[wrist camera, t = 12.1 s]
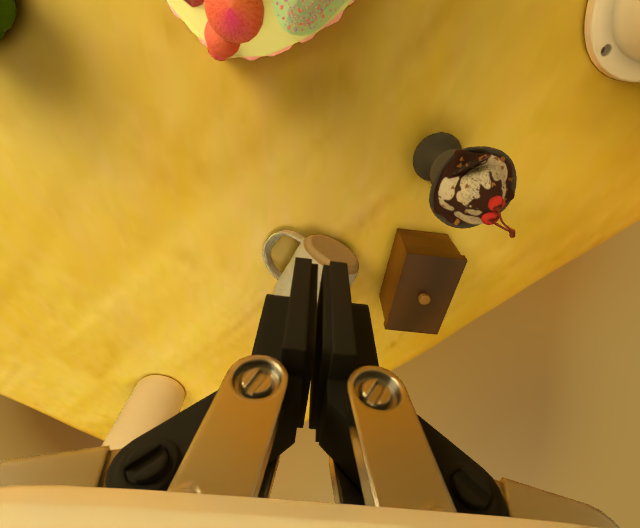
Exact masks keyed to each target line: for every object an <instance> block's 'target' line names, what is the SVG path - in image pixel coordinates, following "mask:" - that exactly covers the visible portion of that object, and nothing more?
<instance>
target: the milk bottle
mask: <svg viewBox="0 0 640 528" xmlns="http://www.w3.org/2000/svg"><path fill="white" fill-rule="evenodd" d="M184 398H185V392H184V389H183V387H182V386H181V385H180V384H179V383H178V382H177V381H175V380H174V379H172V378H170V377H166V376H162V375H150V376H146V377H144V378H143V379H141V380H140V381H139V382H138V383H137V385H136V386H135V388H134V390H133V391H132V393H131V395H130V397H129V398H128V400H127V402H126V404H125V405H124V407H123V409H122V411H121V412H120V414H119V416H118V418H117V419H116V421H115V423H114V425H113V426H112V428H111V430H110V432H109V433H108V435H107V437H106V439H105V441H104V443H103V445H102V446H109V447H110V450H114V449H122V448H123V447H124V446H126V445H127V444H128V443H130V442H131V441H132V440H134V439H136V438H137V437H139V436H141V435H142V434H144V433H146V432H148V431H149V430H151V429H153V428H154V427H156V426H158V425H159V424H161V423H163V422H165V421H166V420H168V419H170V418H171V417H173V416H175V415H177V414H178V413H179V411H180V409H181V406H182V404H183V401H184ZM102 446H101V447H102Z"/></svg>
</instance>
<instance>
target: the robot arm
mask: <svg viewBox="0 0 640 528" xmlns="http://www.w3.org/2000/svg"><path fill="white" fill-rule="evenodd" d="M584 36H585V43H586V49H587V51H588V54H589V56H590V58H591V61H592V62H593V63H594V65H595V66H596V67H597V68H598V70H599V71H601V72H602V73H604V74H605V75H606V76H608V77H610V78H613V79H616V80H619V81H627V82H640V0H589V1H588V5H587V10H586V15H585V27H584ZM601 49H602V50H601ZM317 287H318V264H313V263H312V259H308V258H300V257H295V264H294V271H293V278H292V284H291V291H290V297H289V296H280V295H271V294H267V295H266V298H265V302H264V306H263V310H262V315H261V319H260V323H259V327H258V331H257V335H256V339H255V343H254V347H253V351H252V355H251V356H247V357H244V358H242V359H240V360H238V361H237V362H236V363H234V364H233V365H232V366H231V368H230V369H229V370H228V372H227V374H226V376H225V378H224V380H223V382H222V383H221V385H220V387H219V389H218V391H216V392H214V393H212V394H211V395H209V396H207V397H206V398H204V399H202V400H200V401H199V402H197V403H195V404H194V405H192V406H190V407H189V408H187V409H185V410H183V411H182V412H180V413H178V414H177V415H175V416H173V417H171V418H170V419H168V420H166V421H165V422H163V423H161V424H159V425H158V426H156V427H154V428H153V429H151V430H149V431H148V432H146V433H144V434H142V435H141V436H139V437H137V438H136V439H134V440H132V441H131V442H130V443H128V444H127V445H126V446H124V447H123V448H122V449H114V450H110V447H109V446H102V447H95V448H88V449H81V450H74V451H66V452H59V453H51V454H44V455H37V456H30V457H22V458H15V459H8V460H5V461H1V462H0V528H619V526H618V525H617V524H616V523H615V522H614V521H613V520H612V519H611V518H609V517H608V516H607V515H605V514H604V513H603V512H602V511H600V510H599V509H596V508H594V507H592V506H590V505H588V504H585V503H582V502H579V501H576V500H573V499H569V498H566V497H563V496H560V495H557V494H554V493H550V492H547V491H544V490H541V489H538V488H535V487H531V486H528V485H525V484H522V483H519V482H516V481H513V480H509V479H506V478H502V479H501V480H500V481H497V480H494V479H493V478H492V477H491V476H490V475H489V474H488V473H487V472H486V471H485V470H484V469H483V468H482V467H481V466H480V465H478V464H477V463H476V462H475V461H473V460H472V459H471V458H470V457H469V456H467V455H466V454H465V453H464V452H463V451H461V450H460V449H459V448H458V447H456V446H455V445H454V444H453V443H451V442H450V441H449V440H448V439H447V438H445V437H444V436H443V435H442V434H440V433H439V432H438V431H437V430H436V429H434V428H433V427H432V426H430V425H429V424H428V423H427V422H426V421H425V420H423V419H422V418H421V417H420V416H418V415H417V414H416V412H415V409H414V407H413V404H412V402H411V400H410V397H409V395H408V392H407V390H406V388H405V386H404V384H403V382H402V381H401V380H400V379H399V378H398V377H397V376H396V375H395V374H394V373H392V372H391V371H389V370H387V369H385V368H382V367H379V364H378V359H377V353H376V347H375V341H374V335H373V330H372V324H371V318H370V312H369V307H368V305H365V304H355V303H352V302H351V293H350V284H349V274H348V265H347V263H344V262H335V261H330V264H329V265H323V269H322V276H321V282H320V289H319V296H318V302H317ZM310 381H311V388H310ZM309 388H310V411H309V428H310V429H316V442H319V445H320V446H321V447H322V448H323V450H324V451H325V452H326V453H327V454H328V455H329V468H330V475H331V480H332V487H333V494H334V501H335V503H323V502H310V501H297V500H283V499H282V500H281V499H270V498H269V497H270V493H271V489H272V486H273V482H274V478H275V474H276V471H277V467H278V463H279V457H280V454H281V453H283V452H284V451H285V450H286V449H287V448H289V447H290V446H291V445H292V444H294V442H295V436H296V430H297V428H303V425H304V419H305V412H306V406H307V400H308V394H309Z"/></svg>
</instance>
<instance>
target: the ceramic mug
mask: <svg viewBox="0 0 640 528" xmlns="http://www.w3.org/2000/svg"><path fill="white" fill-rule="evenodd" d="M281 235H285V236H289V237H291V238H294V239H295V240H297V241H299V243H300V245H299V246H298V248H297V250H296V251H295V253H294V255H293V257H292V259H291V260H290V262H289V263H288V265H287V267H286V268H285V270H284V271H283V273H282V272H281V271H280V270H279V269H278V268H277V267H276V266H275V264H274V263H273V261H272V258H271V253H270V252H271V248H272V247H273V245H274V244H275V242H276V241H277V240H279V239H280V236H281ZM262 255H263V260H264V263H265V265H266V267H267V269H268V270H269V271H270V273H271V274H272V275H273V276H274V277H275V278H276V279H277V280H278V281H277V283H276V285H275V287H274V295H280V296H289V297H290V291H291V284H292V278H293V271H294V264H295V257H300V258H308V259H312V263H313V264H318V287H317V302H318V296H319V289H320V282H321V276H322V269H323V265H329V264H330V261H335V262H344V263H347V265H348V274H349V284H350V286H351V284H352V283H353V281H354V279H355V278H356V275H357V273H358V269H359V263H358V260H357V258H356V256H355V255H354V253H353V252H352V251H351V250H350V249H349V248H348V247H346V246H345V245H344V244H342V243H340V242H339V241H337V240H335V239H333V238H331V237H328V236H325V235H320V234H314V235H310V236H308V237H306V238H305V237H304V236H302V235H301V234H300V233H297V232H295V231H292V230H281V231H279V232H277V233H274V234H273V235H271V236H270V237H269V238H268V239H267V241H266V243H265V244H264V247H263V252H262Z"/></svg>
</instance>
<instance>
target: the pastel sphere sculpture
mask: <svg viewBox="0 0 640 528" xmlns="http://www.w3.org/2000/svg"><path fill="white" fill-rule="evenodd" d="M166 1H167V3H168V5H169V6H170V8H171V10H172V12H173V14H174V15H175V16H176V17H178V18H180V19H182V20H183V21H184V22H185V24H186V25H187V26H188V27H189V29H190V30H191V31H192V32H193V33H194V34H195V35H197V36H198V38H199V40H200V42H201V43H202V44H203V45H205V46H207V48H208V52H209V53H210V55H211V56H212V57H213V58H214V59H216V60H219V61H223V60H226V59H227V58H228V57H229V58H237V57H243V58H245V59H248V60H251V61H253V60H255V59H257V58H259V57H262V56H275V55H277V54H280V53H282V52H284V51H286V50H289V49H290V48H291V47H292V45H293V44H295V43H297V42H305V41H307V40H310V39H312V38H313V37H314V35H315V34H316V33H317V32H318V31H319V30H322V29H323V28H325V27H327V26H330V25H332V24H333V23H336V22H338V21H339V20H340V19H341V17H342V14H343V12H344V9H345V8H346V7H347V6H348V5H351V4H352V3H353V2H354V0H166Z"/></svg>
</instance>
